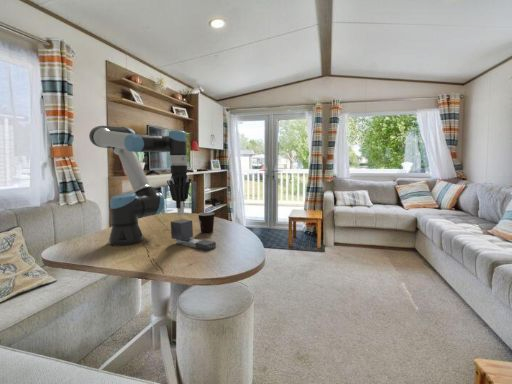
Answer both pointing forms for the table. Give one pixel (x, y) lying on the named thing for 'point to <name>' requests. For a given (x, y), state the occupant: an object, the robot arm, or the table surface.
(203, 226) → the coffee mug
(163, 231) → the table surface
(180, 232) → the dark grey cube
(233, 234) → the table surface
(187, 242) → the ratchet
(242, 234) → the table surface
